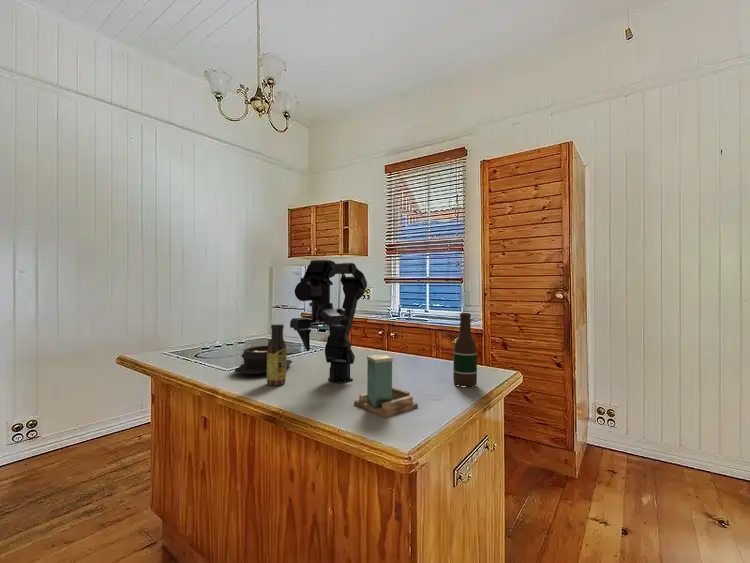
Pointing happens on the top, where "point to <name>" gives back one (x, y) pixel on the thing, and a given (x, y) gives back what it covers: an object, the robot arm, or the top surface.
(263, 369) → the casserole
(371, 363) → the tea tin
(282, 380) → the sauce bottle
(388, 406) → the wooden square frame
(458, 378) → the beer bottle
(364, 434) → the top surface
